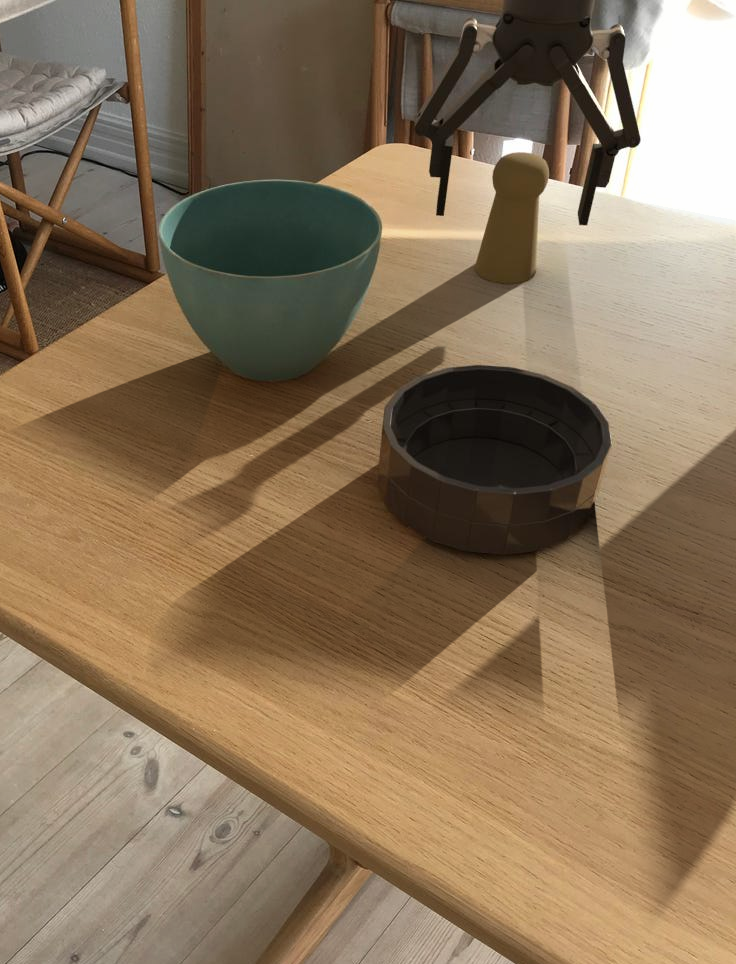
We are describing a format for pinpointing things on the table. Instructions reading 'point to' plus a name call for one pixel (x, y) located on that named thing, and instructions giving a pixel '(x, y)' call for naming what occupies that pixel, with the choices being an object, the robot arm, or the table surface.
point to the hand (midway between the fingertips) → (510, 215)
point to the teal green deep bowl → (270, 271)
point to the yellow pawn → (513, 219)
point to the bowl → (492, 458)
